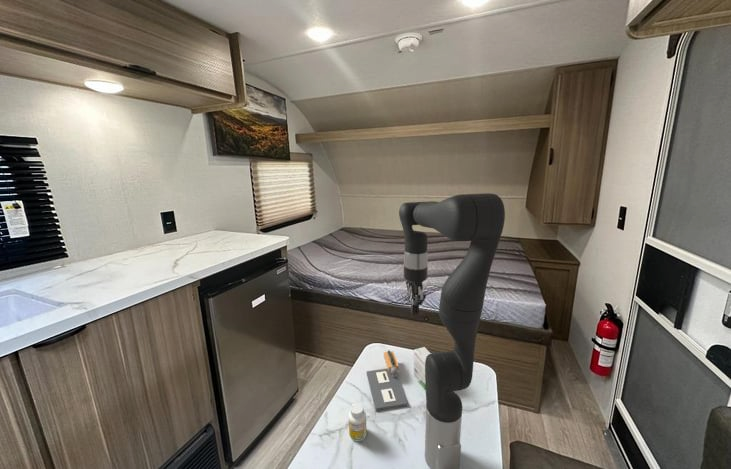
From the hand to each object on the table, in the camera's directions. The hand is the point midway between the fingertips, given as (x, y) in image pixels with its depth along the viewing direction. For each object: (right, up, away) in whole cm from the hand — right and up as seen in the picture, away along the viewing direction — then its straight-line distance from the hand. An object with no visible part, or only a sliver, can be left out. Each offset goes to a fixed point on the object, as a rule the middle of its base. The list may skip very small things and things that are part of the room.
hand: (414, 313), depth 96 cm
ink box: (+6, -30, +14) cm, 33 cm away
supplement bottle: (-19, -35, -7) cm, 41 cm away
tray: (-9, -31, +10) cm, 34 cm away
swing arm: (-6, -26, +18) cm, 32 cm away
